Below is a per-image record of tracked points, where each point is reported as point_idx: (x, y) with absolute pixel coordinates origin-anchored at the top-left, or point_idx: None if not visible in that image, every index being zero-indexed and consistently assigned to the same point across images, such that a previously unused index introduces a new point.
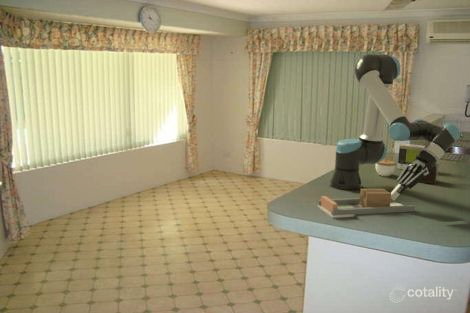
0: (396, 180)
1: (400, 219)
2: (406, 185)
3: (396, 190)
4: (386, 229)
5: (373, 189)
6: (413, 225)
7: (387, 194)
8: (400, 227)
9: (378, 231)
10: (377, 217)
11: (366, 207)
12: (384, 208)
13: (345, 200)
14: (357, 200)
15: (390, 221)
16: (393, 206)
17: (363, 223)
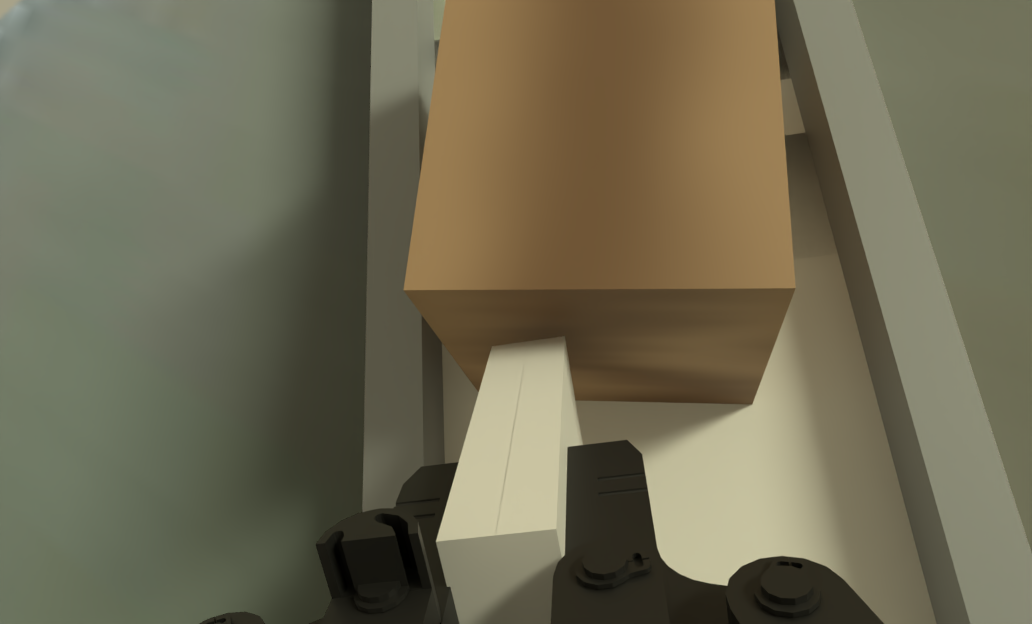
0: (826, 571)
1: (217, 420)
2: (228, 622)
3: (473, 441)
4: (32, 145)
5: (714, 60)
6: (12, 471)
7: (418, 228)
8: (21, 293)
9: (23, 68)
10: (338, 184)
11: (415, 33)
12: (371, 247)
13: None
14: (797, 42)
15: (193, 270)
16: (402, 400)
17: (218, 10)
